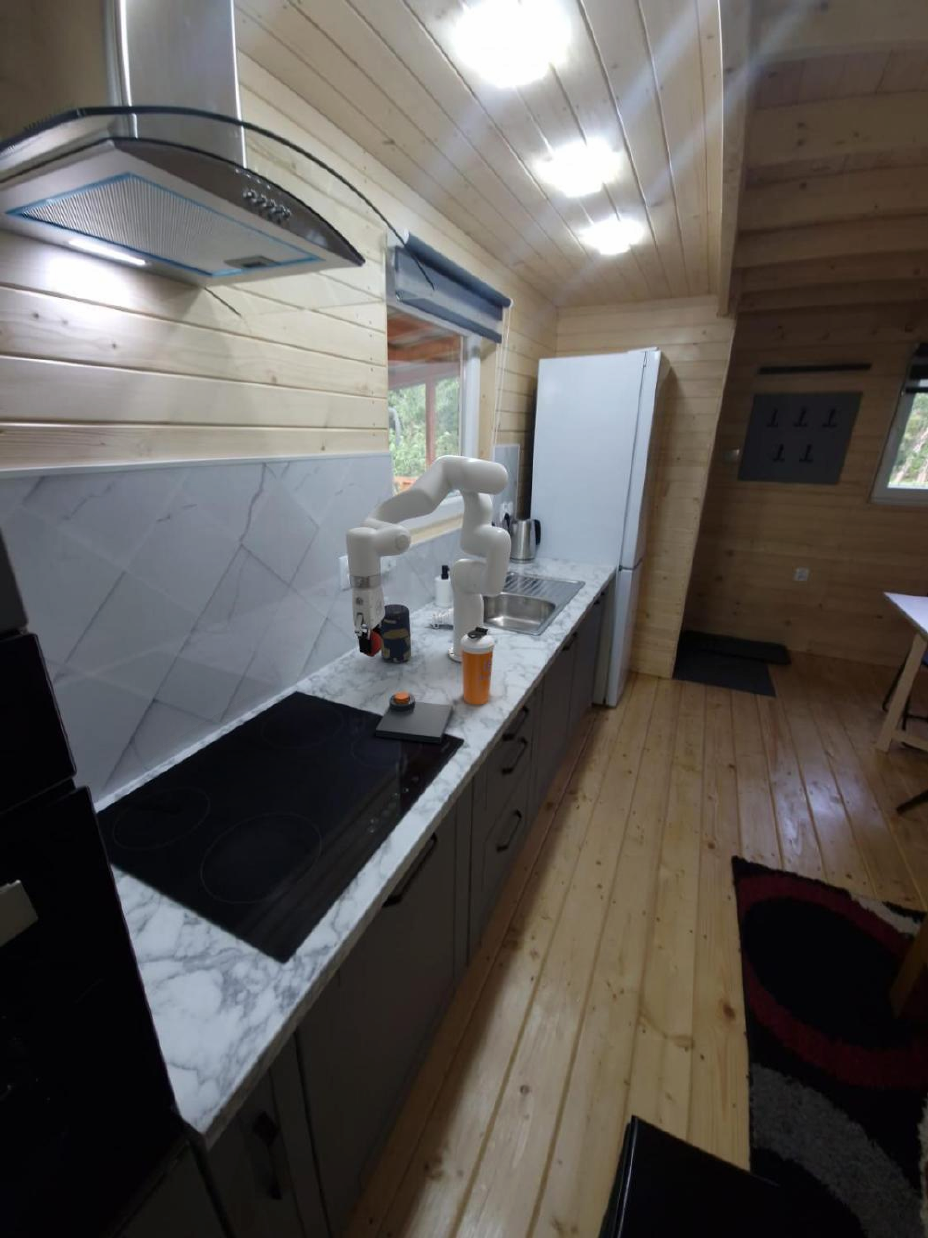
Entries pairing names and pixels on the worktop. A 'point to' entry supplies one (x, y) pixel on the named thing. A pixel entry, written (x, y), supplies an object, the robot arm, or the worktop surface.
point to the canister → (396, 633)
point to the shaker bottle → (477, 665)
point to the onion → (375, 643)
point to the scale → (415, 721)
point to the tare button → (401, 697)
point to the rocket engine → (442, 618)
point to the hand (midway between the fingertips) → (371, 646)
